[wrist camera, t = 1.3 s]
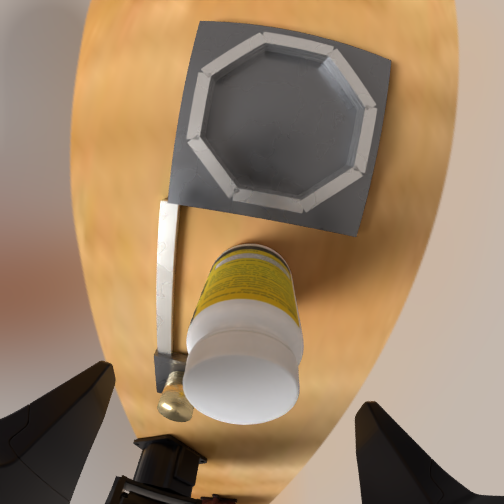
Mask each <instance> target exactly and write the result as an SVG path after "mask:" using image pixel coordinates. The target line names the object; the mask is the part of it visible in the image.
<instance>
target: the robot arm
mask: <svg viewBox="0 0 504 504" xmlns="http://www.w3.org/2000/svg"><path fill="white" fill-rule="evenodd" d="M114 386H115V374H114V370H113V366H112V364H111V363H108V362H105V361H99V362H98V363H96V364H94V365H93V366H91V367H90V368H88V369H86V370H85V371H83V372H81V373H80V374H78V375H77V376H75V377H73V378H71V379H70V380H68V381H67V382H65V383H63V384H62V385H60V386H58V387H57V388H55V389H53V390H52V391H50V392H48V393H47V394H45V395H43V396H42V397H40V398H38V399H37V400H35V401H33V402H32V403H30V405H27V406H25V407H23V408H21V409H20V410H18V411H16V412H14V413H12V414H10V415H8V416H6V417H4V418H2V419H0V504H70V501H71V498H72V495H73V493H74V490H75V487H76V485H77V482H78V479H79V477H80V474H81V472H82V469H83V466H84V464H85V461H86V459H87V457H88V454H89V452H90V449H91V447H92V445H93V443H94V440H95V438H96V436H97V433H98V431H99V429H100V426H101V424H102V422H103V419H104V417H105V414H106V410H107V407H108V404H109V401H110V398H111V395H112V392H113V389H114ZM355 437H356V456H357V464H358V472H359V480H360V488H361V497H362V504H504V496H488V495H479V494H475V493H473V492H471V491H470V490H468V489H467V488H465V487H464V486H463V485H462V484H460V483H459V482H458V481H456V480H455V479H454V478H453V477H451V476H450V475H449V474H448V473H447V472H445V471H444V470H443V469H442V468H441V467H440V466H439V465H438V464H437V463H436V462H435V461H434V460H433V459H431V457H430V456H429V455H428V454H427V453H426V452H425V451H424V450H423V449H422V448H421V447H420V446H419V445H418V444H417V443H416V442H415V441H414V440H413V439H412V438H411V437H410V436H409V435H408V434H407V433H406V432H405V431H404V430H403V429H402V428H401V427H400V426H399V425H398V424H397V423H396V422H395V421H394V420H393V419H392V418H391V417H390V416H389V415H388V414H387V412H385V410H384V409H383V408H382V407H381V406H380V405H379V404H378V403H377V402H375V401H371V402H370V401H367V402H365V403H364V404H363V405H362V407H361V408H360V409H359V411H358V412H357V414H356V416H355ZM134 444H135V445H136V446H138V447H139V448H141V449H142V453H141V456H140V459H139V462H138V466H137V469H136V472H135V475H134V478H133V480H132V479H129V478H127V477H126V476H124V475H122V477H117V476H116V478H115V481H114V483H113V486H112V489H111V491H110V493H109V496H108V498H107V500H106V502H105V504H202V500H201V499H194V498H191V492H192V487H193V486H195V482H196V476H197V471H198V465H199V464H203V463H207V459H206V458H205V457H203V456H201V455H200V454H198V453H197V452H195V451H193V450H192V449H190V448H189V447H187V446H186V445H184V444H183V443H181V442H180V441H178V440H177V439H175V438H174V437H172V436H169V435H166V436H159V437H152V438H145V439H136V440H134ZM125 490H126V491H129V494H128V493H125V492H124V491H125Z"/></svg>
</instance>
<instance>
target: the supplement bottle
mask: <svg viewBox="0 0 504 504" xmlns="http://www.w3.org/2000/svg"><path fill="white" fill-rule="evenodd" d="M303 348H304V345H303V335H302V329H301V324H300V318H299V313H298V308H297V302H296V296H295V291H294V285H293V280H292V274H291V271H290V269H289V266H288V265H287V263H286V261H285V260H284V259H283V258H282V256H281V255H279V254H278V253H277V252H276V251H274V250H273V249H271V248H269V247H266V246H263V245H259V244H241V245H237V246H234V247H232V248H230V249H228V250H226V251H225V252H224V253H222V254H221V255H220V256H219V257H218V258H217V260H216V261H215V263H214V264H213V266H212V269H211V271H210V273H209V276H208V279H207V281H206V284H205V286H204V289H203V291H202V294H201V296H200V299H199V302H198V304H197V307H196V310H195V312H194V315H193V318H192V320H191V323H190V326H189V329H188V333H187V350H188V354H189V355H188V357H187V362H186V368H185V373H184V377H183V391H184V394H185V396H186V398H187V399H188V401H189V402H190V403H191V404H192V405H193V406H194V407H195V408H196V409H197V410H198V411H200V412H201V413H203V414H205V415H207V416H209V417H211V418H213V419H216V420H219V421H222V422H226V423H231V424H241V425H247V424H259V423H264V422H268V421H271V420H274V419H276V418H278V417H280V416H282V415H284V414H285V413H287V412H288V411H289V410H290V409H291V408H292V407H293V406H294V405H295V403H296V401H297V399H298V396H299V374H298V371H299V370H298V365H299V364H300V361H301V359H302V355H303Z"/></svg>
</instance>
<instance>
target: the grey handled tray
mask: <svg viewBox="0 0 504 504" xmlns="http://www.w3.org/2000/svg"><path fill="white" fill-rule="evenodd" d="M390 68H391V60H389V59H386V58H384V57H381V56H378V55H376V54H373V53H370V52H368V51H365V50H362V49H359V48H356V47H353V46H350V45H347V44H343V43H340V42H337V41H333V40H330V39H326V38H322V37H318V36H314V35H310V34H305V33H301V32H296V31H291V30H286V29H280V28H274V27H267V26H260V25H252V24H243V23H231V22H215V21H200V23H199V26H198V30H197V34H196V38H195V42H194V46H193V50H192V54H191V58H190V63H189V67H188V72H187V77H186V81H185V86H184V91H183V97H182V102H181V108H180V113H179V119H178V125H177V132H176V138H175V145H174V152H173V160H172V168H171V176H170V185H169V195H168V199H163V200H161V204H160V217H159V232H158V251H157V345H158V348H157V350H156V352H155V354H154V363H155V375H156V386H157V392H158V393H162V395H161V398H160V401H159V404H158V407H157V409H158V411H159V412H160V414H161V415H163V416H164V417H166V418H168V419H170V420H173V421H177V422H186V421H189V420H190V419H191V418H192V414H193V409H194V406H193V405H192V404H191V403H190V402H189V401H188V399H187V398H186V396H185V394H184V391H183V377H184V373H185V368H186V362H187V357H188V355H185V354H180V353H176V352H173V312H174V286H175V267H176V252H177V239H178V227H179V216H180V206H181V205H184V206H190V207H197V208H203V209H209V210H215V211H221V212H227V213H233V214H239V215H245V216H250V217H256V218H262V219H267V220H273V221H278V222H283V223H289V224H294V225H299V226H304V227H309V228H315V229H320V230H324V231H329V232H334V233H339V234H344V235H349V236H353V237H356V236H357V233H358V229H359V226H360V222H361V219H362V215H363V211H364V207H365V204H366V200H367V196H368V192H369V188H370V183H371V179H372V175H373V170H374V166H375V161H376V156H377V151H378V146H379V141H380V136H381V131H382V125H383V119H384V113H385V107H386V100H387V93H388V85H389V77H390Z"/></svg>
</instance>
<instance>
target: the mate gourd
mask: <svg viewBox="0 0 504 504" xmlns="http://www.w3.org/2000/svg"><path fill="white" fill-rule="evenodd" d="M212 496H213V498H210V497H201V498H200V499H201V500H202V504H235V502H237V499H224V498H220V497H219V496H218V495H217V494H212Z"/></svg>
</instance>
